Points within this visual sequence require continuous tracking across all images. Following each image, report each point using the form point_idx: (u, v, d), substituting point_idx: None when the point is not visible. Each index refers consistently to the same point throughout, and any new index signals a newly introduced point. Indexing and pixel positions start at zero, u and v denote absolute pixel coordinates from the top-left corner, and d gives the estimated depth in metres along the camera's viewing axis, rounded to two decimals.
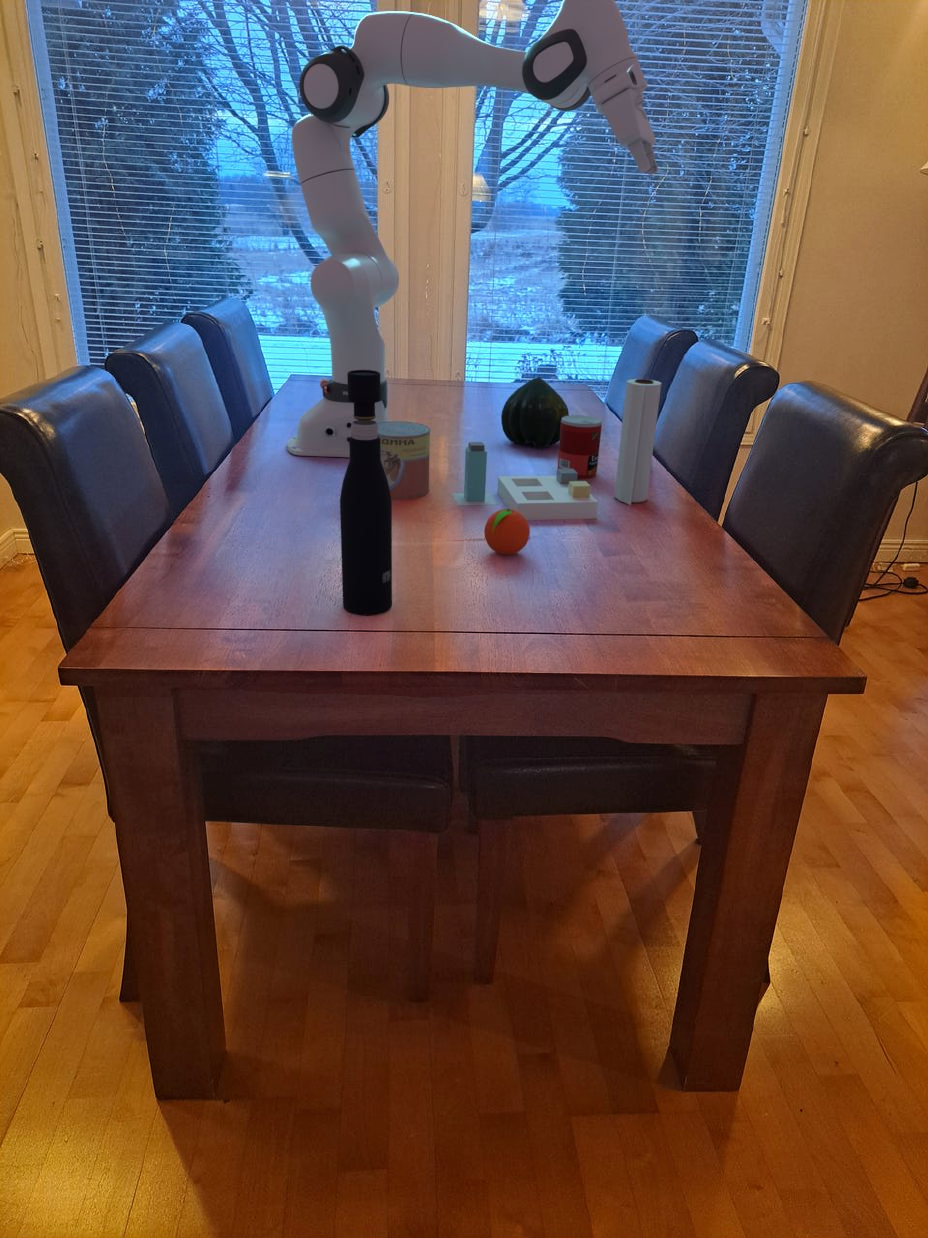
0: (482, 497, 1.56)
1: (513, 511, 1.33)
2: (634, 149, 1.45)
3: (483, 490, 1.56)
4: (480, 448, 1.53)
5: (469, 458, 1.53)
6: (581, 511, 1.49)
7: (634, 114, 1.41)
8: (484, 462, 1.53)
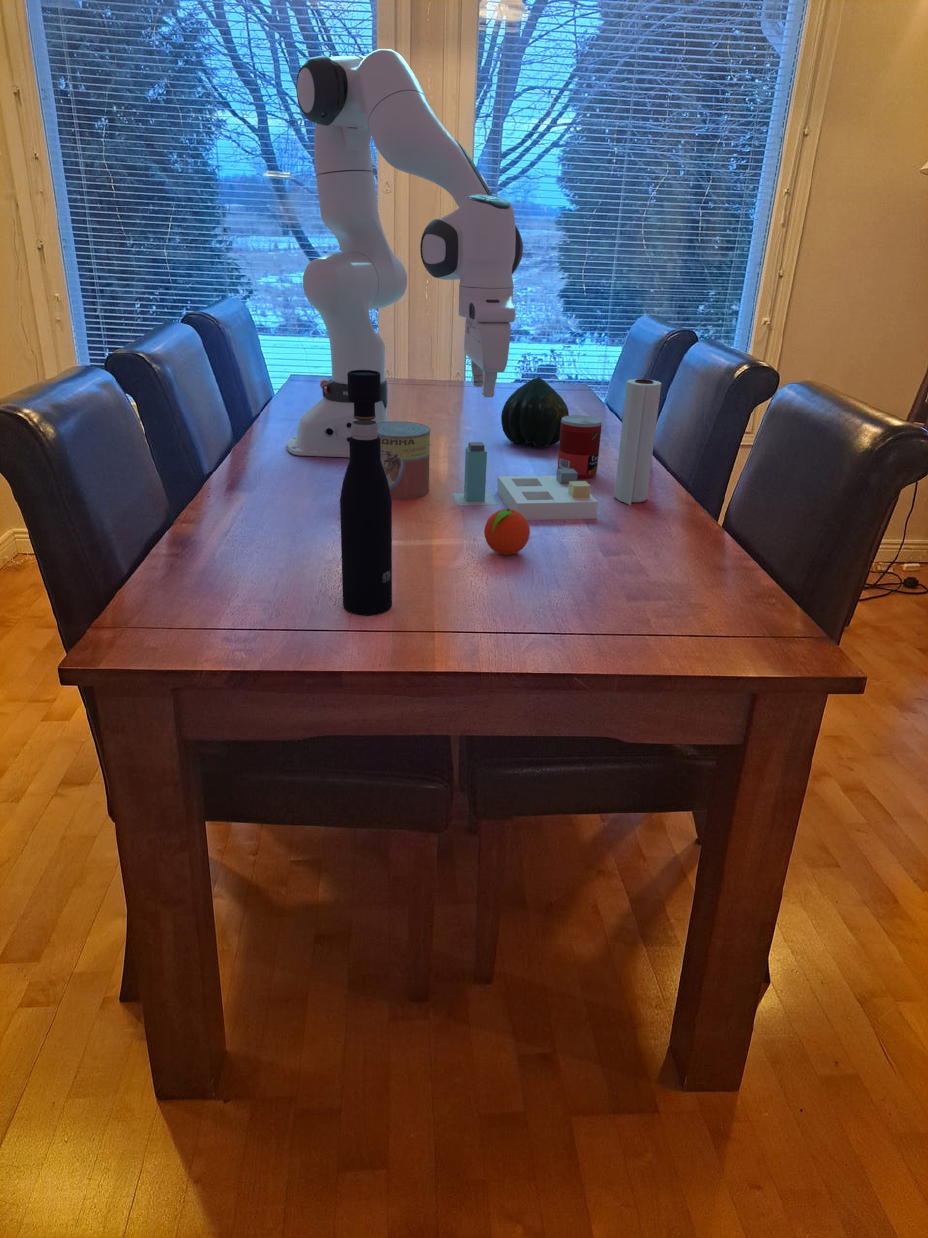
0: (482, 497, 1.56)
1: (513, 511, 1.33)
2: (488, 376, 1.42)
3: (483, 490, 1.56)
4: (480, 448, 1.53)
5: (469, 458, 1.53)
6: (581, 511, 1.49)
7: (508, 352, 1.38)
8: (484, 462, 1.53)
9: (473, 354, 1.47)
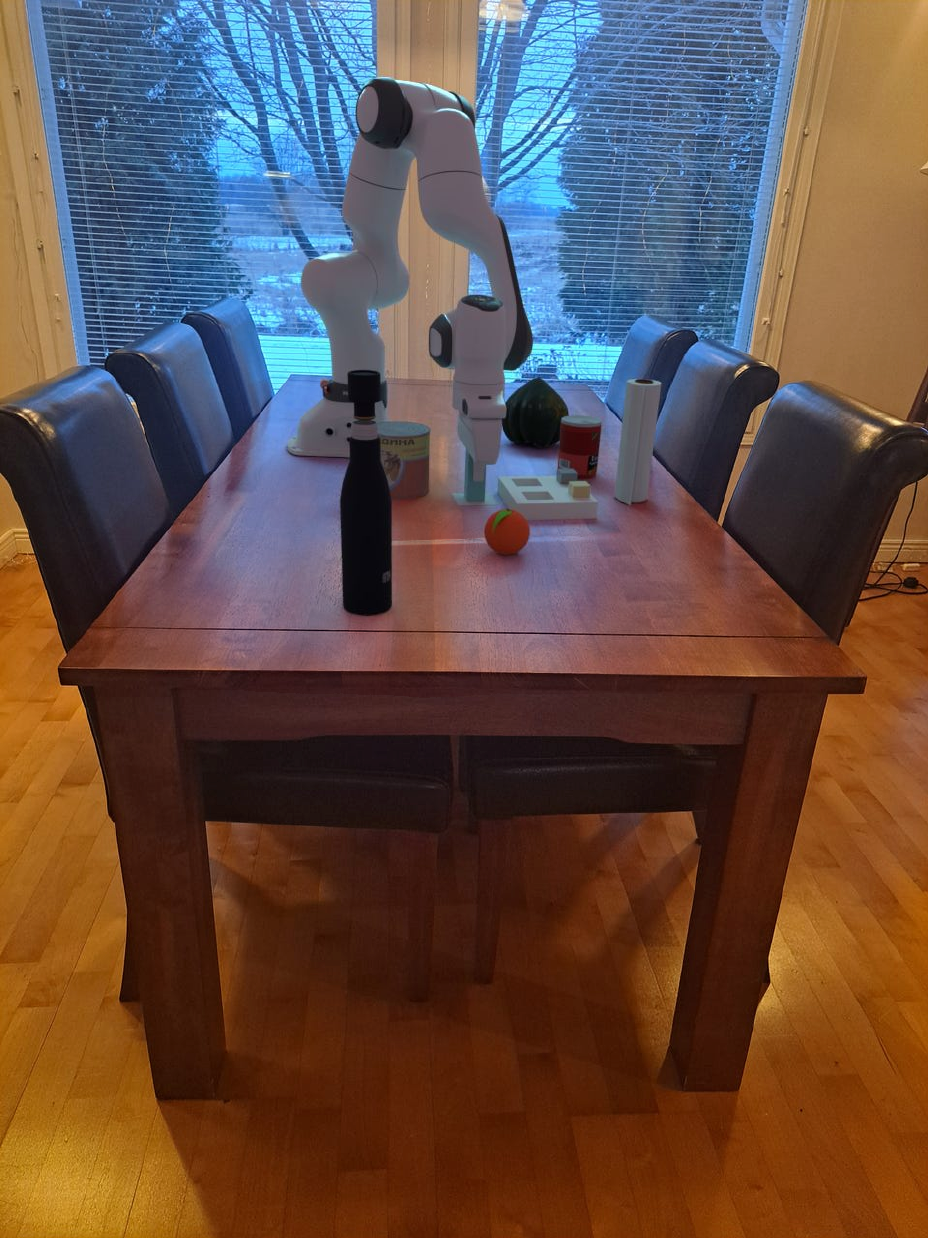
0: (482, 497, 1.56)
1: (513, 511, 1.33)
2: None
3: (483, 490, 1.56)
4: None
5: (469, 458, 1.53)
6: (581, 511, 1.49)
7: (499, 446, 1.44)
8: None
9: (466, 443, 1.53)
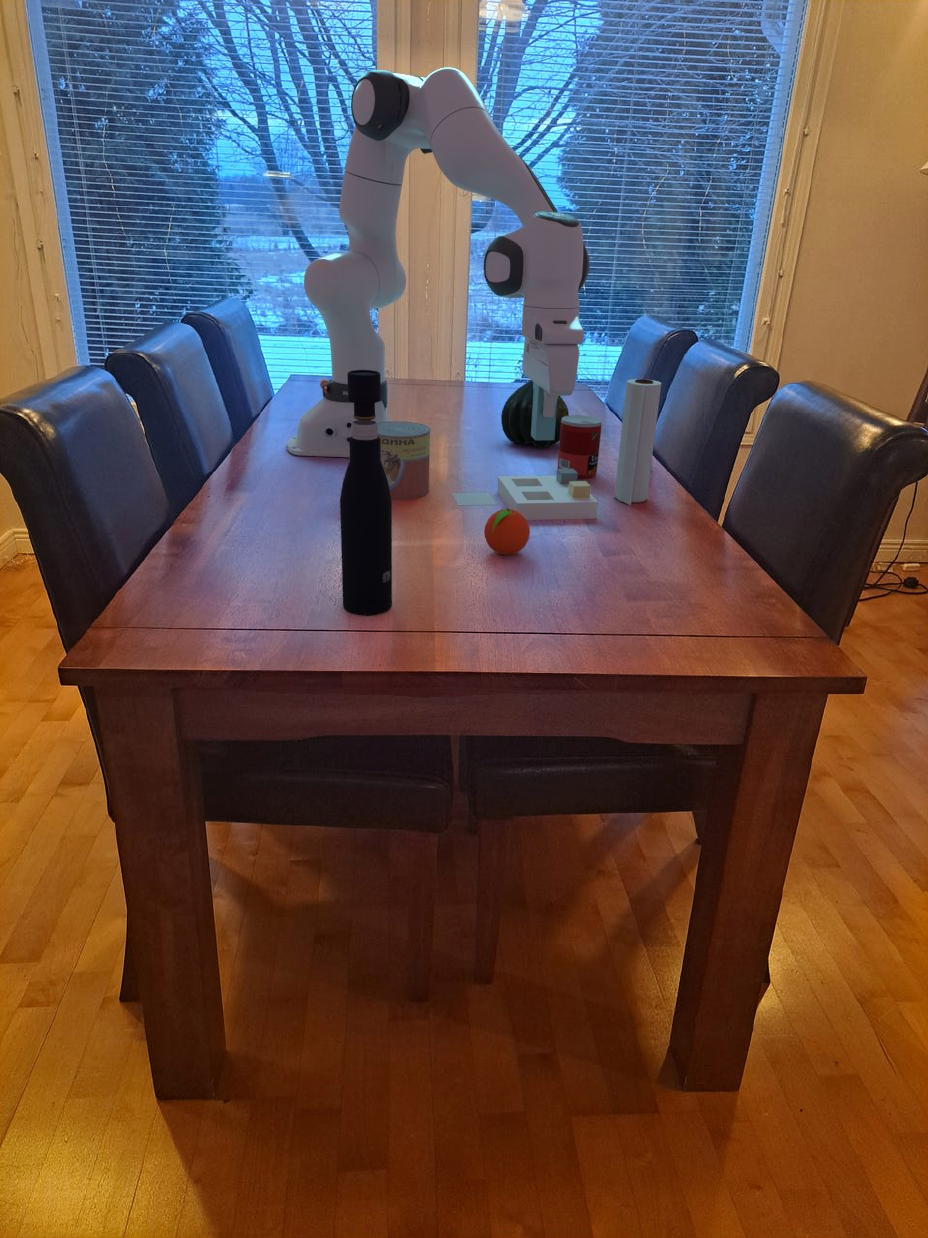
0: (551, 435, 1.45)
1: (513, 511, 1.33)
2: (550, 395, 1.40)
3: (553, 427, 1.44)
4: None
5: (539, 392, 1.42)
6: (581, 511, 1.49)
7: (575, 375, 1.33)
8: None
9: (535, 375, 1.42)
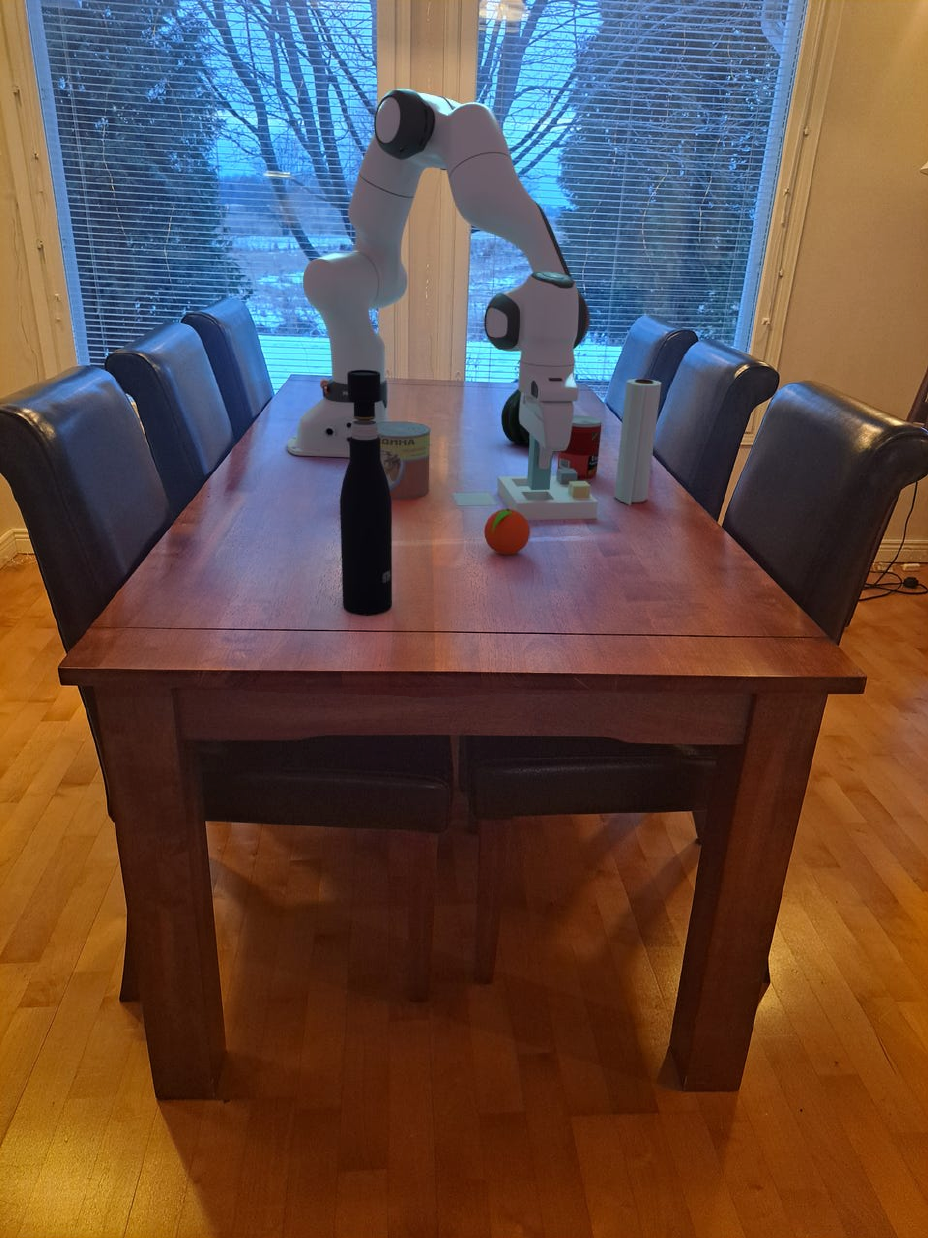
0: (547, 485, 1.49)
1: (513, 511, 1.33)
2: (545, 448, 1.43)
3: (548, 478, 1.48)
4: None
5: (535, 444, 1.45)
6: (581, 511, 1.49)
7: (570, 431, 1.37)
8: None
9: (531, 428, 1.45)
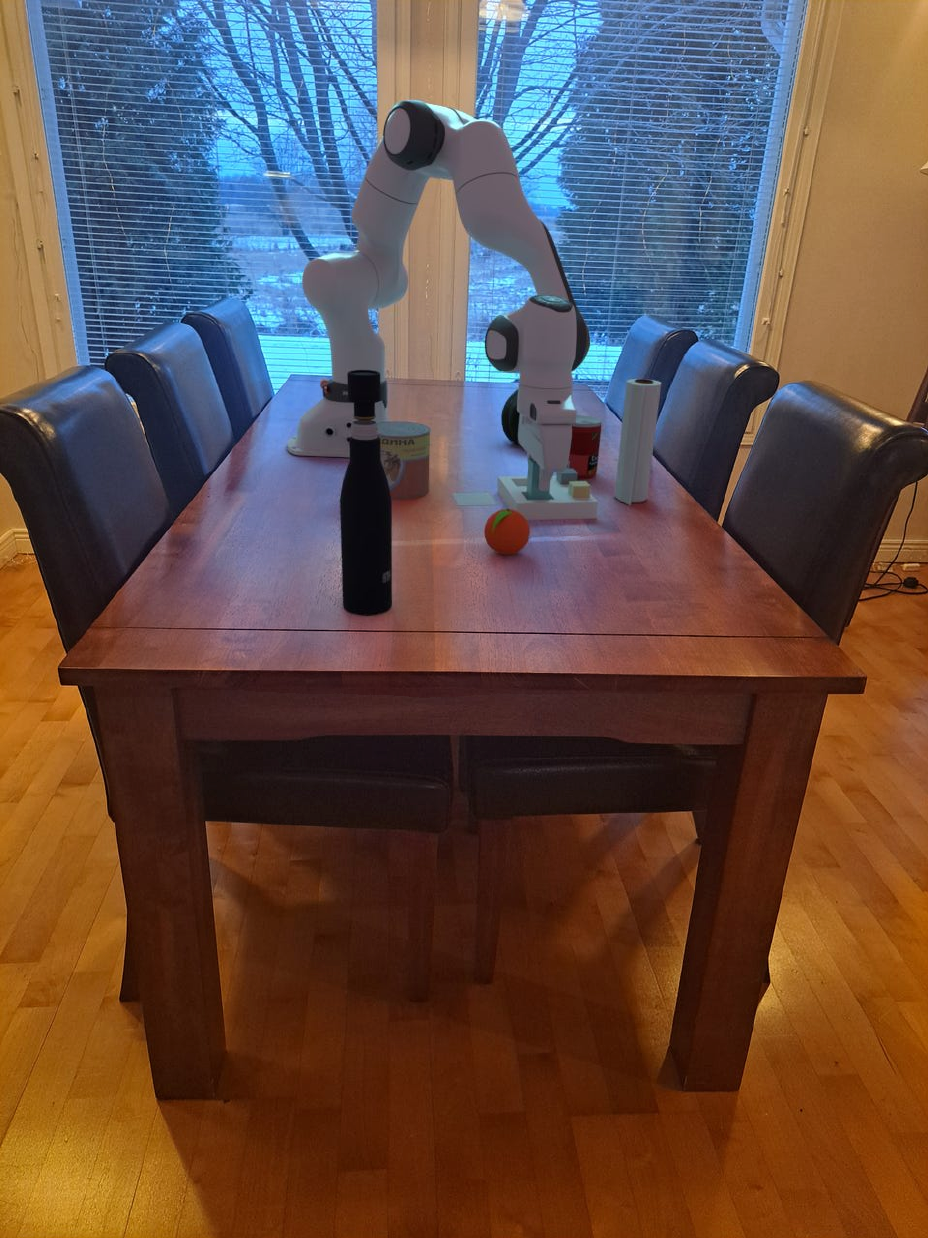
0: None
1: (513, 511, 1.33)
2: (545, 471, 1.44)
3: None
4: None
5: (533, 470, 1.47)
6: (581, 511, 1.49)
7: (568, 453, 1.38)
8: None
9: (530, 449, 1.47)
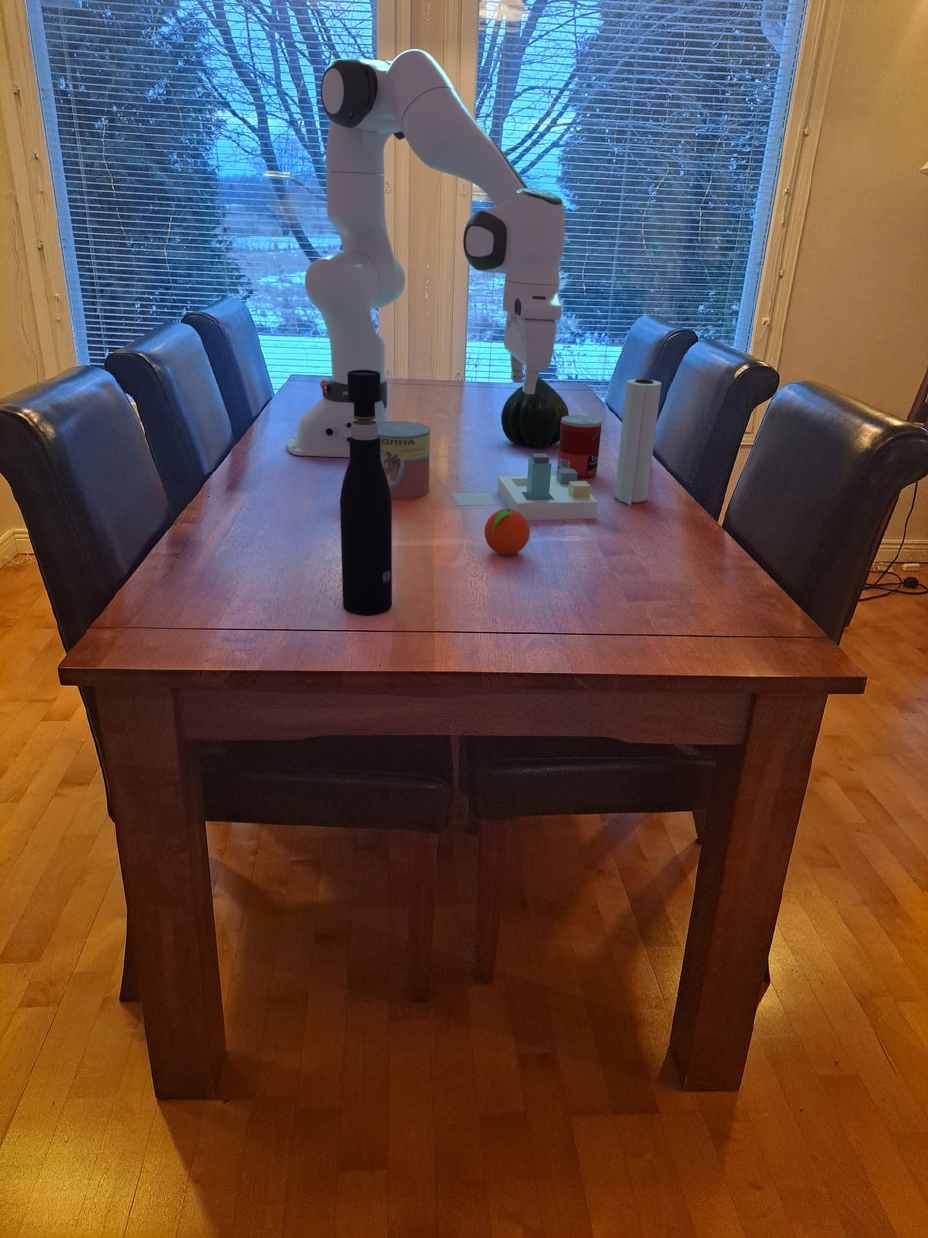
0: None
1: (513, 511, 1.33)
2: (531, 372, 1.41)
3: None
4: (544, 460, 1.47)
5: (533, 470, 1.47)
6: (581, 511, 1.49)
7: (552, 350, 1.37)
8: (548, 474, 1.48)
9: (515, 349, 1.45)
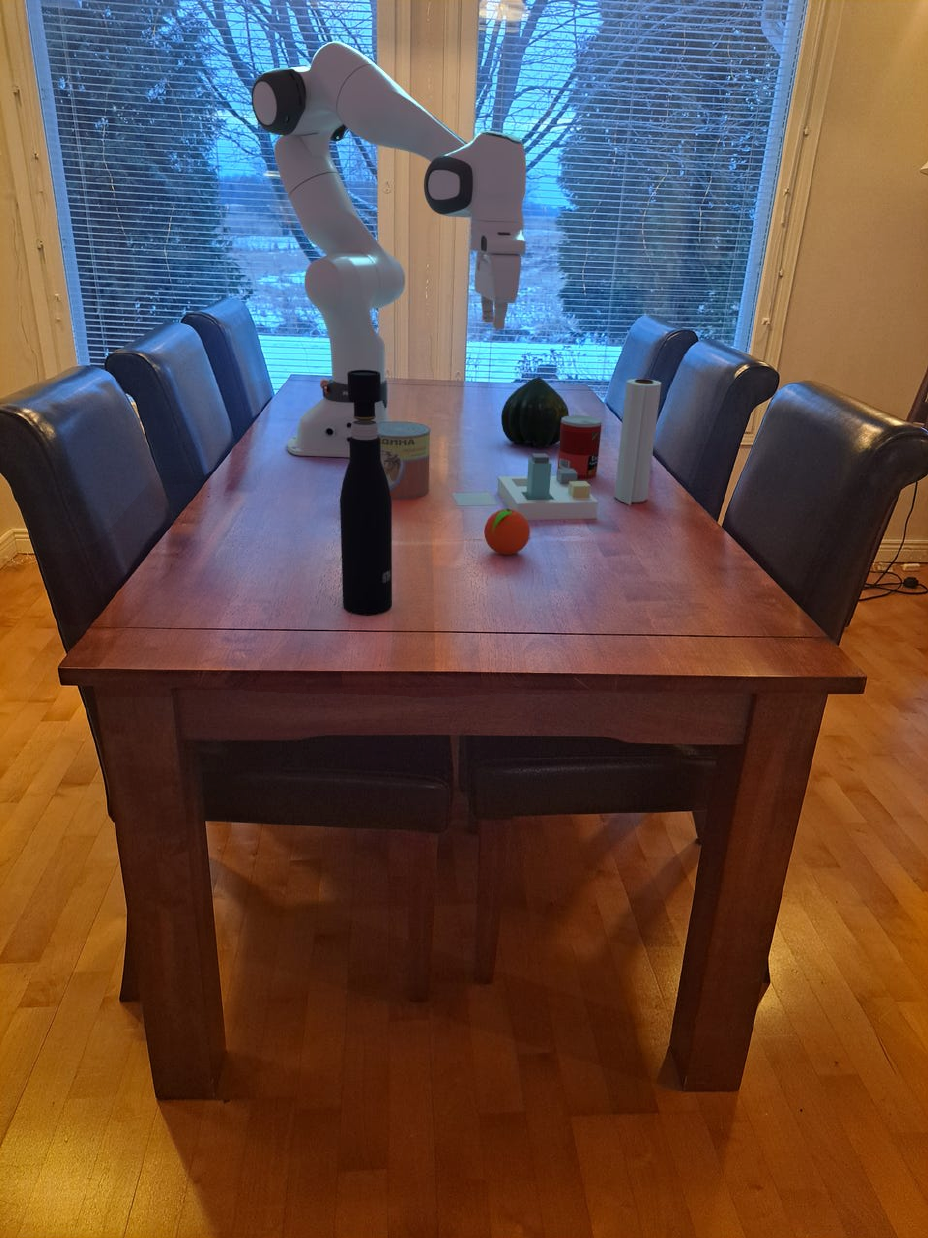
0: None
1: (513, 511, 1.33)
2: (499, 307, 1.48)
3: None
4: (544, 460, 1.47)
5: (533, 470, 1.47)
6: (581, 511, 1.49)
7: (518, 283, 1.43)
8: (548, 474, 1.48)
9: (484, 288, 1.52)
